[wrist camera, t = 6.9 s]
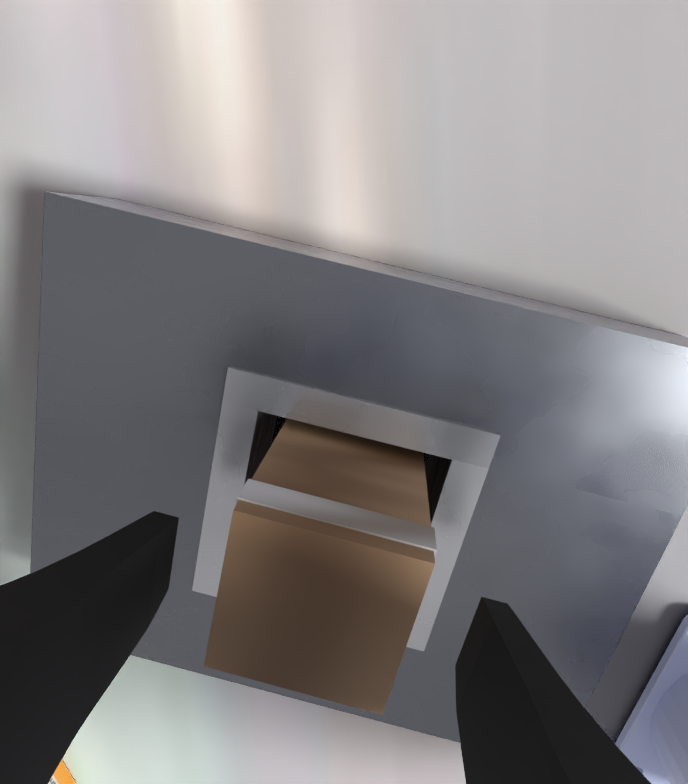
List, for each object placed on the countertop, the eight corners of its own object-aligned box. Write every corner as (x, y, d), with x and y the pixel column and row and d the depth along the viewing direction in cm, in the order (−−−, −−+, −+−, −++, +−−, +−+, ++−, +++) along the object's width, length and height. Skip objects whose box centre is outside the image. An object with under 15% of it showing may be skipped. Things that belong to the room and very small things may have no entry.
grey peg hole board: (682, 336, 16) (761, 365, 12) (529, 678, 20) (555, 770, 17) (116, 198, 16) (41, 191, 13) (88, 563, 21) (26, 629, 17)
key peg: (421, 416, 17) (438, 562, 10) (390, 518, 19) (383, 717, 11) (303, 386, 18) (231, 507, 10) (280, 490, 19) (201, 667, 11)
